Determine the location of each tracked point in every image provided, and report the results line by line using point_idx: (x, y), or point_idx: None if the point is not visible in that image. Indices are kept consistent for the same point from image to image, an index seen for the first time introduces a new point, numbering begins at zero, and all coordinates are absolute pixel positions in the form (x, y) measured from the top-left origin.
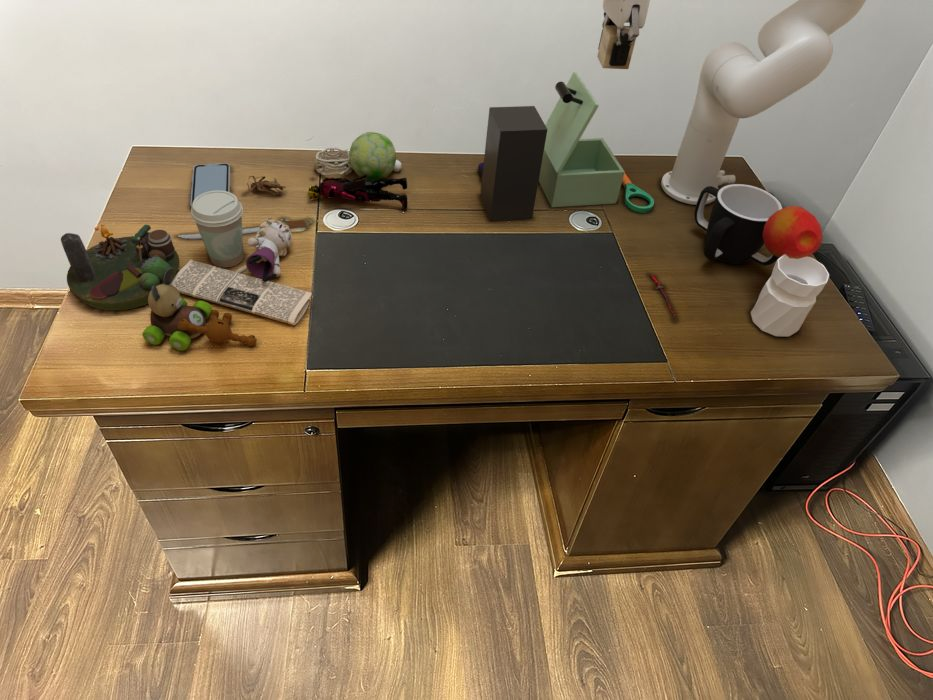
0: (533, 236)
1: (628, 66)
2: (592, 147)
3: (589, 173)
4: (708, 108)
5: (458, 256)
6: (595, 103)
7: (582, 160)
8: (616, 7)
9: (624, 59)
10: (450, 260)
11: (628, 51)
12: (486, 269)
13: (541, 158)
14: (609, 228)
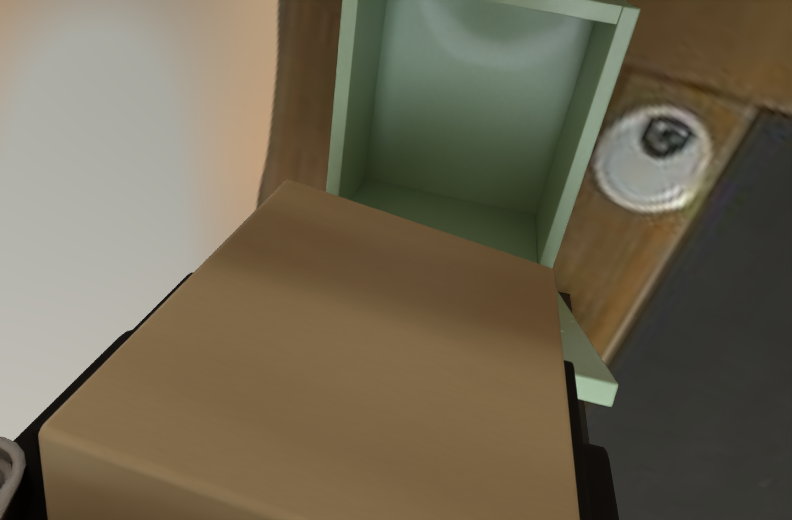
0: (642, 326)
1: (554, 289)
2: (365, 9)
3: (584, 171)
4: None
5: (626, 482)
6: (602, 404)
7: (375, 35)
8: None
9: (605, 468)
10: (630, 497)
11: (586, 493)
12: (698, 461)
13: (587, 440)
14: (731, 103)
